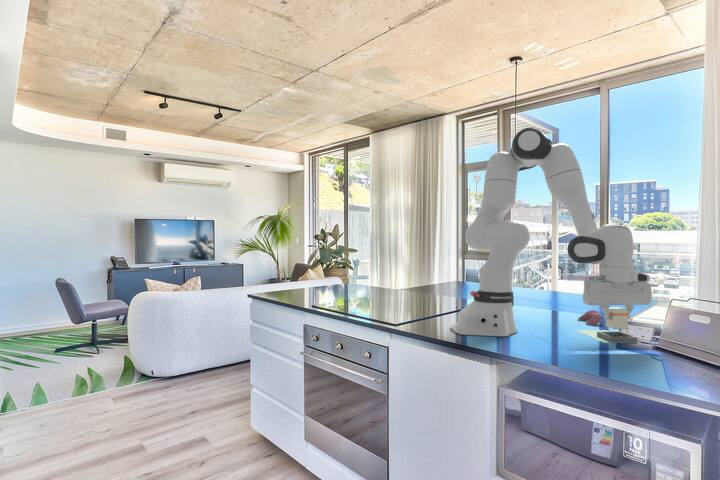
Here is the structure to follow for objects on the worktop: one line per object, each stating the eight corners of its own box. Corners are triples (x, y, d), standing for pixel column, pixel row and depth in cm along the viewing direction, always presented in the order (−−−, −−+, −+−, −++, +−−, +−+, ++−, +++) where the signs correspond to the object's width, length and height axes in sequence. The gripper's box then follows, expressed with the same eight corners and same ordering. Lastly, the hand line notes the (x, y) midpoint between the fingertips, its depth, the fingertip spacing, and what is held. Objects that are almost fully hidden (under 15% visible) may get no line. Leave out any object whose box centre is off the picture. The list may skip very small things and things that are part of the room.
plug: (614, 329, 127) (614, 310, 127) (605, 326, 131) (605, 307, 131) (627, 329, 127) (627, 309, 127) (618, 326, 131) (618, 307, 131)
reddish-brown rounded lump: (597, 332, 149) (606, 315, 148) (585, 326, 150) (594, 309, 149) (587, 326, 158) (596, 310, 158) (576, 321, 159) (584, 305, 159)
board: (604, 346, 124) (604, 337, 124) (574, 333, 141) (574, 325, 141) (640, 345, 124) (640, 337, 124) (606, 333, 141) (606, 325, 141)
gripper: (590, 276, 125) (590, 321, 125) (655, 276, 126) (655, 320, 126) (578, 274, 131) (578, 317, 132) (640, 274, 132) (641, 316, 132)
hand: (616, 319), depth 129 cm, fingers closed on plug, 4 cm apart
